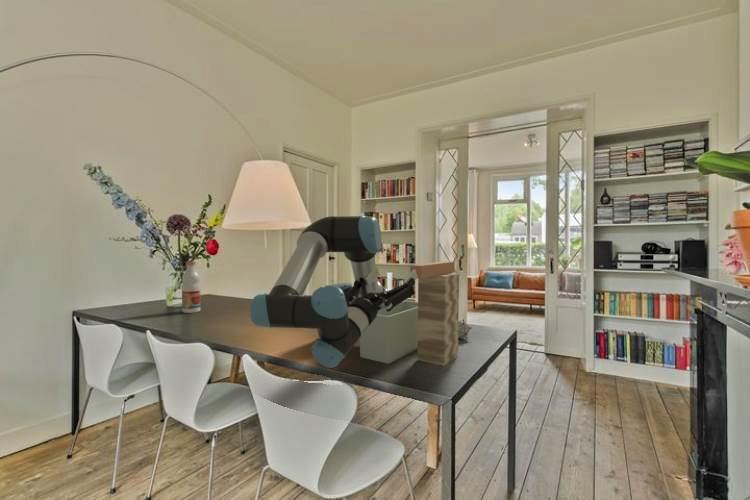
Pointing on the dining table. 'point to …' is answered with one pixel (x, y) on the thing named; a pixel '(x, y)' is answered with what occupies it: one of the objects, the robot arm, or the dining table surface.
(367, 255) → the robot arm
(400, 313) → the bin
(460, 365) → the dining table surface
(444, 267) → the beam
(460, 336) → the grey bushy clump
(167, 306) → the dining table surface
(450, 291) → the stand
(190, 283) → the fruit juice
